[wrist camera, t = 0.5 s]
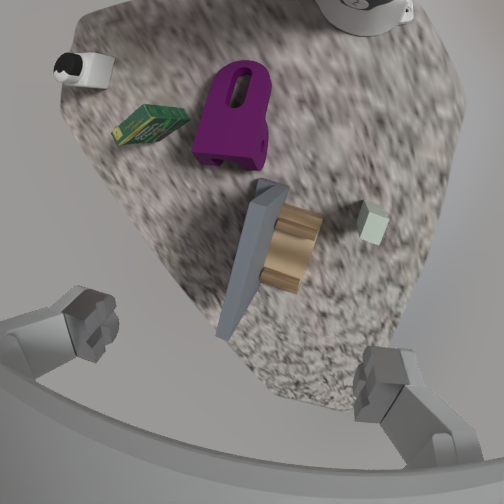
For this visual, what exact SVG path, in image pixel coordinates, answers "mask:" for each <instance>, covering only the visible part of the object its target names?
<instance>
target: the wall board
mask: <svg viewBox="0 0 504 504" xmlns="http://www.w3.org/2000/svg"><path fill="white" fill-rule="evenodd" d="M289 187H290V186H287V185H283V184H280V183H277V182H274V181H271V180H267V179H264V178H260V179H259V180H258V183H257V187H256V191H255V194H254V198H253V200H252V201H250V203H249V207H248V211H247V215H246V219H245V222H244V226H243V230H242V234H241V238H240V241H239V245H238V249H237V253H236V257H235V261H234V265H233V268H232V272H231V276H230V280H229V284H228V288H227V292H226V296H225V300H224V304H223V308H222V311H221V315H220V319H219V323H218V327H217V331H216V337H219V338H221V339H224V340H226V341H229V339H230V337H231V336H232V334H233V332H234V331H235V329H236V327H237V325H238V324H239V322H240V320H241V318H242V317H243V315H244V313H245V311H246V310H247V308H248V306H249V304H250V303H251V301H252V299H253V297H254V296H255V294H256V292H257V290H258V289H259V286H260V283H261V281H259V280H260V277H261V273H262V270H263V267H264V263H265V260H266V257H267V254H268V250H269V247H270V244H271V240H272V237H273V234H274V230H275V227H276V224H277V220H278V217H279V213H280V210H281V207H282V205H283V204H284V203H285V200H286V197H287V193H288V190H289Z"/></svg>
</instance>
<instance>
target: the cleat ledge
mask: <svg viewBox="0 0 504 504" xmlns="http://www.w3.org/2000/svg"><path fill="white" fill-rule="evenodd" d="M323 217H324V216H322V215H319V214H316V213H313V212H310V211H307V210H304V209H301V208H298V207H295V206H292V205H289V204H286V203H284V204H283V205H282V207H281V210H280V213H279V217H278V220H277V224H276V227H275V230H274V234H273V237H272V240H271V244H270V247H269V250H268V254H267V257H266V260H265V263H264V267H263V270H262V273H261V277H260V280H259V281H261V282H263V283H266V284H269V285H272V286H275V287H277V288H280V289H283V290H286V291H289V292H292V293H294V294H297V292H298V289H299V286H300V284H301V281H302V278H303V276H304V273H305V270H306V267H307V265H308V262H309V259H310V256H311V253H312V250H313V248H314V245H315V242H316V239H317V236H318V233H319V230H320V227H321V224H322V222H323Z"/></svg>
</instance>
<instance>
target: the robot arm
mask: <svg viewBox="0 0 504 504" xmlns="http://www.w3.org/2000/svg"><path fill="white" fill-rule="evenodd" d="M315 1H316V3H317V4H318V6H319V8H320V10H321V12H322V14H323V15H324V16H325V18H326V19H327V20H328V21H329V22H330V23H331V24H333V25H334V26H335V27H337V28H339V29H341V30H343V31H345V32H347V33H350V34H354V35H359V36H375V35H380V34H383V33H385V32H387V31H389V30H390V29H392V28H393V27H395V26H397V25H402V24H408V23H410V22H412V20H413V2H412V0H315ZM406 10H407V11H408V12H405V11H406ZM115 307H116V301H115V298H114V297H113V296H112V295H109V294H105V293H102V292H99V291H96V290H92V289H88V288H85V287H82V286H79V285H78V286H74V287H73V288H72V289H71V290H70V291H68V292H67V293H66V294H65V295H64V296H63V297H62V298H60V299H59V300H58V301H57V302H56V303H55V304H53V305H52V306H51V307H50V308H47V307H45V308H42V309H39V310H35V311H32V312H29V313H26V314H23V315H19V316H16V317H13V318H10V319H6V320H3V321H0V504H504V457H502V458H497V459H492V460H486V461H484V458H483V455H482V451H481V448H480V444H479V441H478V437H477V434H476V431H475V429H474V428H473V427H472V426H470V425H469V424H468V423H467V422H466V421H465V420H464V419H463V418H462V417H461V416H460V415H459V414H458V413H457V412H456V411H455V410H454V409H453V408H451V407H450V406H449V405H448V404H447V403H446V402H445V401H444V400H443V399H442V398H441V397H440V396H439V395H438V394H437V393H435V392H434V391H433V390H432V389H431V388H430V387H429V386H425V385H424V382H423V379H422V375H421V372H420V369H419V366H418V363H417V359H416V356H415V353H414V351H413V350H412V349H399V348H398V349H395V348H385V347H376V346H367V347H366V349H365V350H364V353H363V363H361V364H360V365H358V367H357V370H356V372H355V376H354V380H353V394H354V395H355V397H356V398H357V399H356V401H355V403H354V415H355V421H357V422H367V423H380V425H381V427H382V428H383V430H384V431H385V433H386V434H387V436H388V437H389V439H390V440H391V442H392V443H393V444H394V446H395V447H396V449H397V450H398V452H399V453H400V455H401V456H402V458H403V459H404V461H405V462H406V463H407V465H406V466H405V467H404V468H403V469H400V470H358V469H336V468H322V467H312V466H302V465H294V464H285V463H278V462H272V461H266V460H260V459H254V458H248V457H243V456H238V455H233V454H229V453H224V452H220V451H216V450H211V449H207V448H203V447H199V446H196V445H192V444H188V443H185V442H181V441H178V440H174V439H171V438H168V437H165V436H161V435H158V434H155V433H152V432H149V431H146V430H144V429H141V428H138V427H135V426H132V425H130V424H127V423H124V422H122V421H119V420H117V419H114V418H112V417H109V416H107V415H104V414H102V413H99V412H97V411H94V410H92V409H90V408H88V407H86V406H83V405H81V404H79V403H77V402H75V401H73V400H71V399H69V398H66V397H64V396H62V395H60V394H58V393H56V392H54V391H52V390H50V389H49V388H47V387H45V386H43V385H41V384H39V383H37V382H36V380H35V379H36V378H38V377H40V376H42V375H44V374H46V373H47V372H49V371H51V370H53V369H55V368H57V367H59V366H61V365H63V364H65V363H67V362H68V361H70V360H72V359H74V358H76V356H77V357H80V358H82V359H85V360H88V361H91V362H94V363H97V361H98V360H99V359H100V358H101V356H102V355H103V354H104V352H105V345H108V344H110V343H112V342H113V341H114V339H115V338H116V336H117V333H118V330H119V319H118V316H117V315H116V313H115V312H114V309H115Z"/></svg>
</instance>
